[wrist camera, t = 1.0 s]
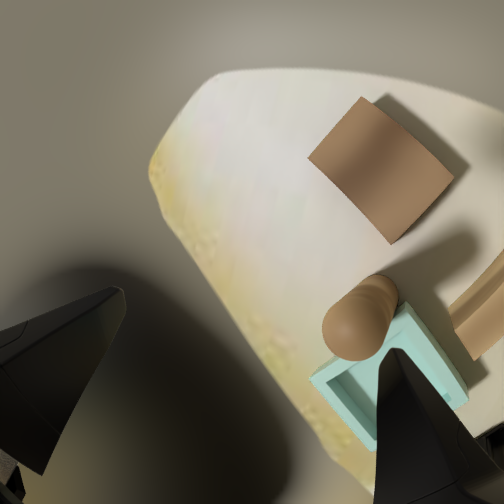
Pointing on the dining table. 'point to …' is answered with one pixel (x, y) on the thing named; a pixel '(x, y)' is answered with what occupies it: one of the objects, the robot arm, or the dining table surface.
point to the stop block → (481, 310)
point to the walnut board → (381, 168)
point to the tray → (366, 375)
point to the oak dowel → (361, 319)
